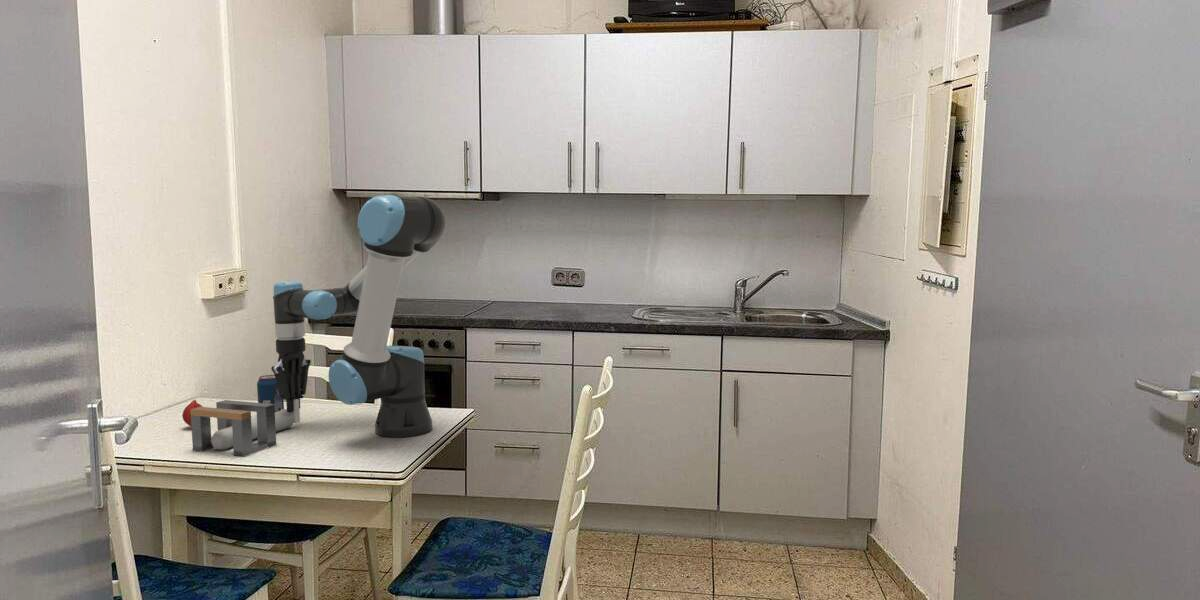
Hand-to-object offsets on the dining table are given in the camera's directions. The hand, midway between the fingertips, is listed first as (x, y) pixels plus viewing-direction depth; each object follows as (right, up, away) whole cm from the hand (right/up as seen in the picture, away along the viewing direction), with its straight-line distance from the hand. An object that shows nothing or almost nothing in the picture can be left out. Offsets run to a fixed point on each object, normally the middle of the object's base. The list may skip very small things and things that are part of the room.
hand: (294, 422), depth 219 cm
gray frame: (-7, -3, -20) cm, 21 cm away
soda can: (-11, -1, +12) cm, 17 cm away
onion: (-28, -2, 0) cm, 28 cm away
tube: (-6, -3, -12) cm, 13 cm away
